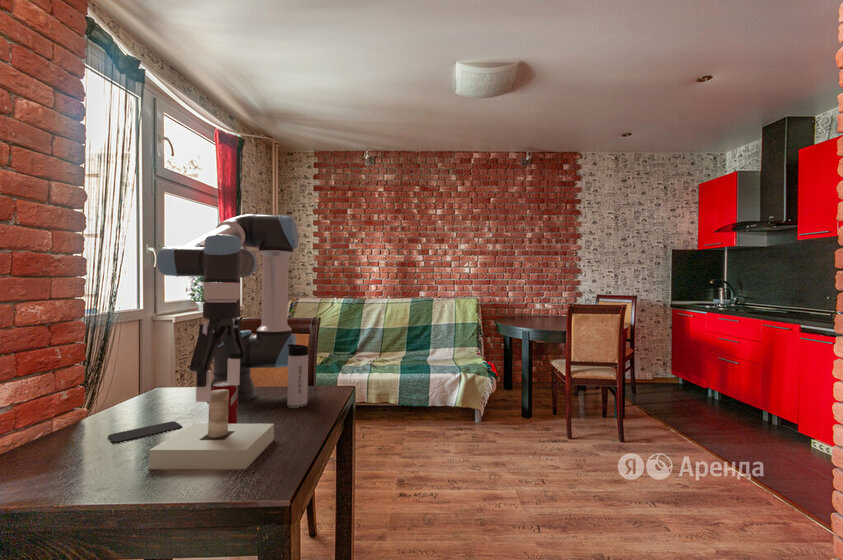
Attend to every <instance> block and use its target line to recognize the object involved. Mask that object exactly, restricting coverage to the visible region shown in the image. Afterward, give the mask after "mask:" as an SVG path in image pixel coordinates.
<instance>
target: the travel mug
mask: <svg viewBox="0 0 843 560" xmlns="http://www.w3.org/2000/svg"><path fill="white" fill-rule="evenodd" d="M288 347H289V355H288V356H289V357H288V366H287V395H286V396H287V401H286V402H287V404H286V405H287V406H286V407H288V409H289V408H290V409H300V408H299V407H302V408H304V407H303V406H305V407H306V406H307V405H308V393H309V392H308V391H309V390H308V381H309V380H308V379H309V346H308V345H303V344H296V345H293V344H289V345H288Z"/></svg>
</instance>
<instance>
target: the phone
mask: <svg viewBox="0 0 843 560" xmlns="http://www.w3.org/2000/svg"><path fill="white" fill-rule="evenodd" d="M180 428H181V429H182V428H183V425H181V424H180V423H179V422H177V421H175V420H174V421H173V420H172V421H167V422H162V423H157V424H153V425H148V426H143V427H138V428H135V429H128V430H124V431H120V432H113V433H111V434H108V435H107V439H108V438H109V439H108V441H110V440H111V441H110V442H111V443H112V444H113V443H118V444H121V443H120V442H123V443H125V442H124V441H127V442H130V441H129V440H131V441H135V440H139V439H138V438H140V439H143V438H142V437H144V438H147V437H146V436H148V437H151V436H150V435H152V436H155V435H154V434H156V435H160V434H159V433H161V434H164V433H163V432H165V433H168V432H167V431H169V432H172V431H171V430H173V431H177V430H176V429H178V430H181V429H180ZM134 439H135V440H134Z"/></svg>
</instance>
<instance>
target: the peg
mask: <svg viewBox="0 0 843 560" xmlns="http://www.w3.org/2000/svg"><path fill="white" fill-rule="evenodd" d="M228 402H229V390H225V389H221V390H214V391H211V401H209V403H208V420H207V422H208V423H207V424H208V440H225V439H226V438H227V437H228Z"/></svg>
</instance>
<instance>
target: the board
mask: <svg viewBox="0 0 843 560" xmlns="http://www.w3.org/2000/svg"><path fill="white" fill-rule="evenodd" d="M274 434H275V423H237V424H228V437H227V438H226V439H225V440H208V423H192V424H191V425H188V427H185V428H184V429H182V430H180V431H178V432H177V433H175V434H173V436H170V437H169V438H167V439H166V440H164V441H162V442H160V443H159V444H157V445H155V446H154V447H152V448H150V449H149V451H148V454H149V456H148V470H247V468H249V466H250V465H251V464H252V463H253V462H255V460H256V459H257V458H258V457H259V456H260V455H261V454H262V453H263V452H264V451H265V449H266V448H267V447H268V446H269V445H270V444H271V443H272V442H273V441H274V440H275V435H274Z"/></svg>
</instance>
